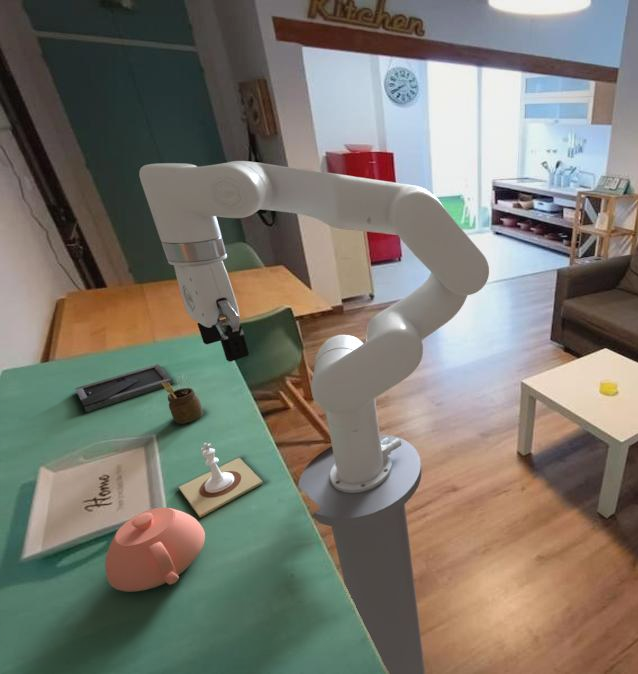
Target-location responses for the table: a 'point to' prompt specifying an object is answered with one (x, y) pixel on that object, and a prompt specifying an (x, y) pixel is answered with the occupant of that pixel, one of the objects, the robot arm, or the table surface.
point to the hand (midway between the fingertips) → (226, 349)
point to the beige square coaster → (211, 501)
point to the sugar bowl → (153, 549)
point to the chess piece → (215, 472)
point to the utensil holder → (183, 404)
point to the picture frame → (122, 387)
